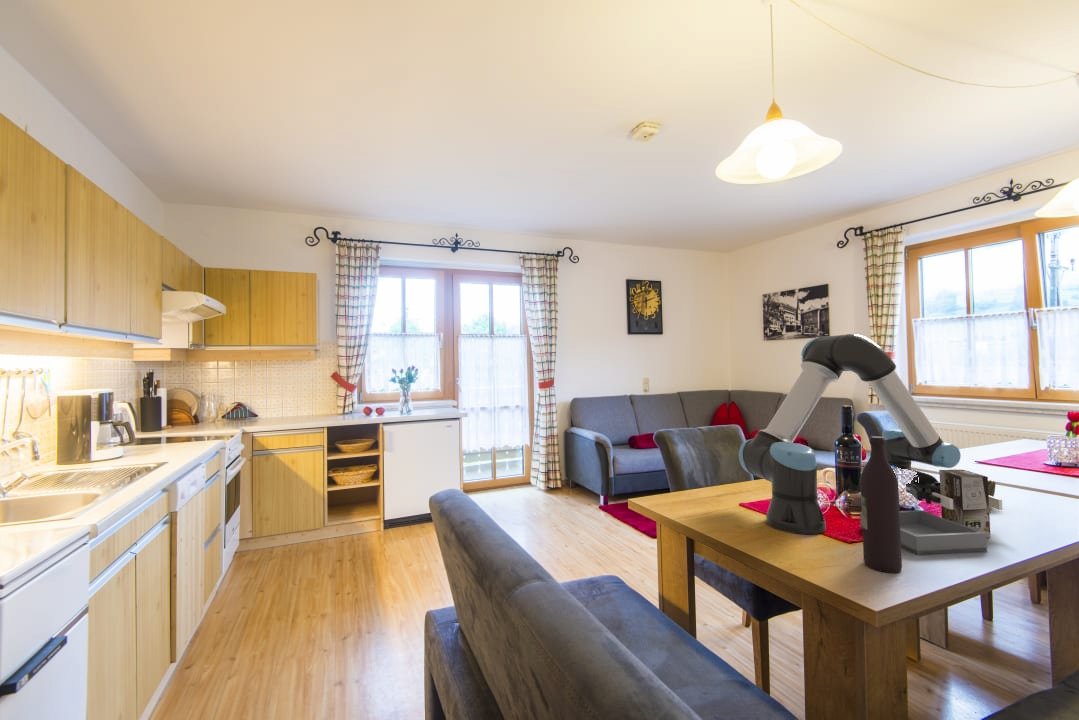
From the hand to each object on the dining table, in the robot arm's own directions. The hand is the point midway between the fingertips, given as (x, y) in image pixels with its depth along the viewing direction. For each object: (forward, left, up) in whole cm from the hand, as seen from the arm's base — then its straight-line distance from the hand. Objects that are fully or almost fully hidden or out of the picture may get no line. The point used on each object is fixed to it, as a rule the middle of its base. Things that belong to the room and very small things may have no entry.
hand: (976, 504), depth 120 cm
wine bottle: (-38, -14, -9) cm, 42 cm away
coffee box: (+1, +4, -9) cm, 10 cm away
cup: (+27, +24, -9) cm, 37 cm away
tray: (-16, 0, -8) cm, 18 cm away
